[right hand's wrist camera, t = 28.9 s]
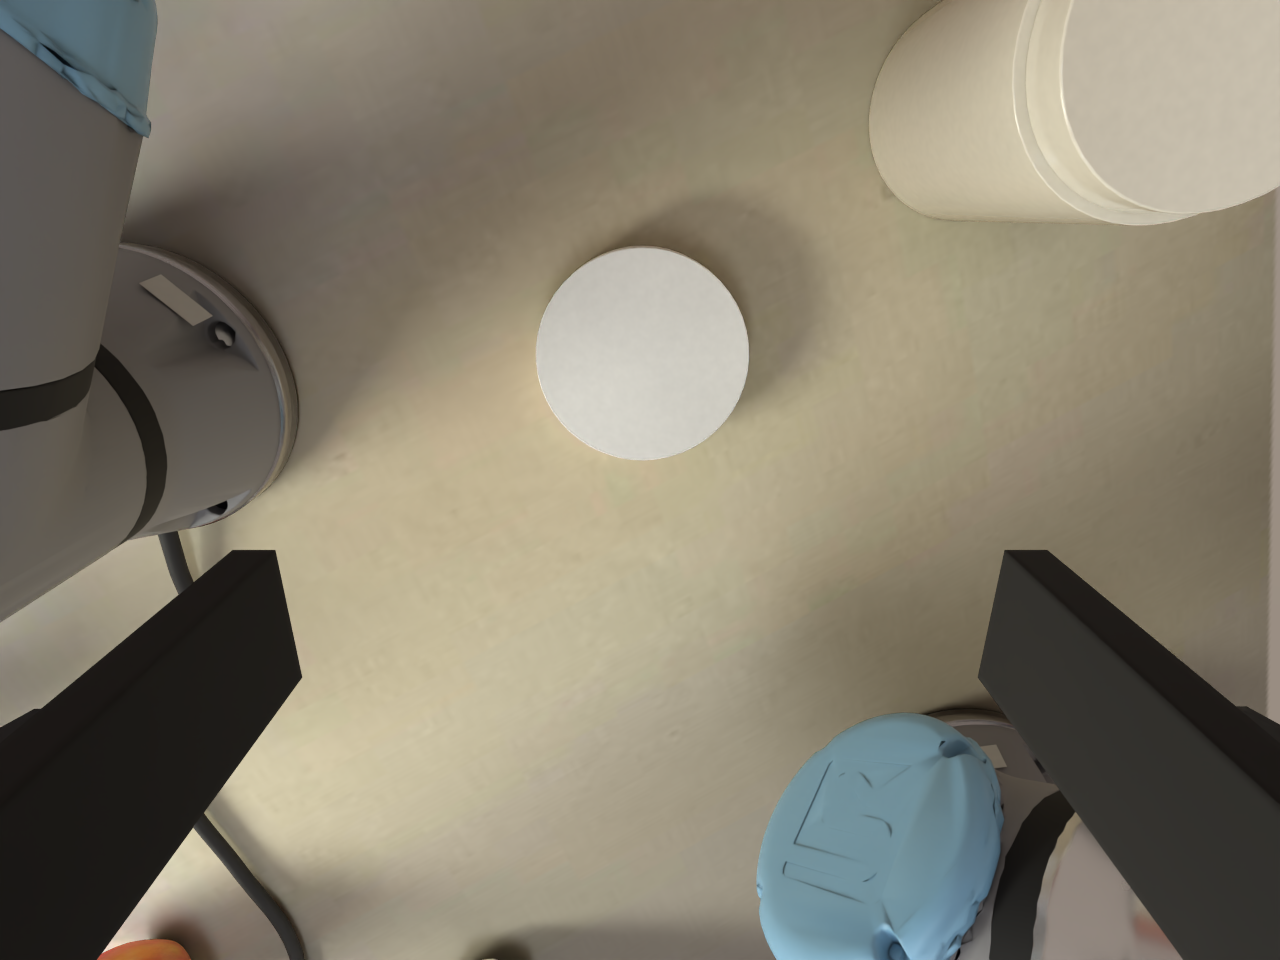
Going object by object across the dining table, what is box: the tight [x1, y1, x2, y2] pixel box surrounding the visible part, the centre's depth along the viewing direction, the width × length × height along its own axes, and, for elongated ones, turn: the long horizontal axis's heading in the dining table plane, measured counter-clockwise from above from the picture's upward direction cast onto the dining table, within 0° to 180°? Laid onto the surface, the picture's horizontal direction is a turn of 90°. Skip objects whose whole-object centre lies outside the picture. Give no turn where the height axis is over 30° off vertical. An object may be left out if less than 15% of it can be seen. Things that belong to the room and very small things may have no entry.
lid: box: [536, 245, 749, 460], centre depth 36 cm, size 11×11×2 cm
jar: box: [869, 0, 1280, 226], centre depth 26 cm, size 10×10×16 cm
